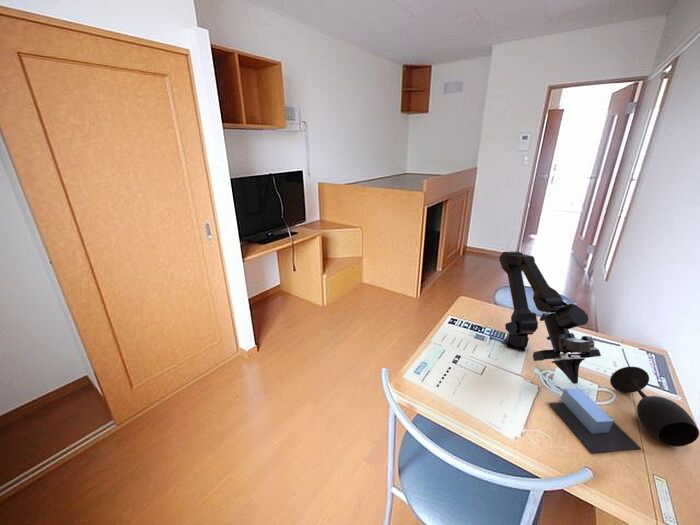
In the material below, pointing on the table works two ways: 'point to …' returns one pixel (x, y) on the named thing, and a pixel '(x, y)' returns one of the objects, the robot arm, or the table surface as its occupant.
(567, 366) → the robot arm
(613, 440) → the rubber mat
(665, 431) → the wine glass
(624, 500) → the table surface
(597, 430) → the blue block
